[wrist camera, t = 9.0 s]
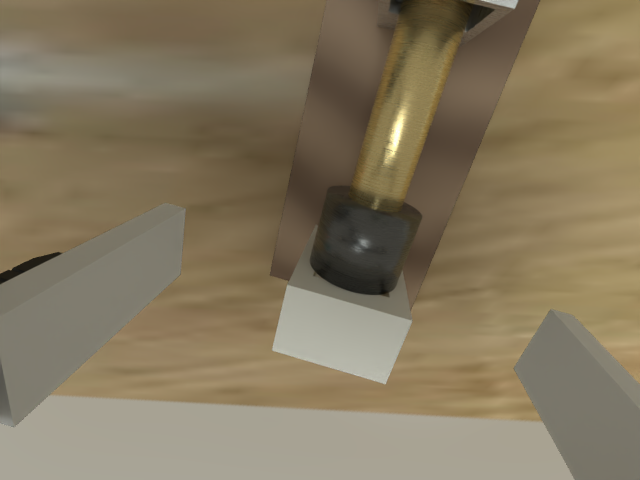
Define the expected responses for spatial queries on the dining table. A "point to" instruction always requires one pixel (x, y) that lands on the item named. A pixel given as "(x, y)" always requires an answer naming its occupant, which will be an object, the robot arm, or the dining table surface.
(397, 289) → the socket
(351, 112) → the board
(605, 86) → the dining table surface
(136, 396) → the dining table surface
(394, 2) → the sleeve
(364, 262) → the tube
